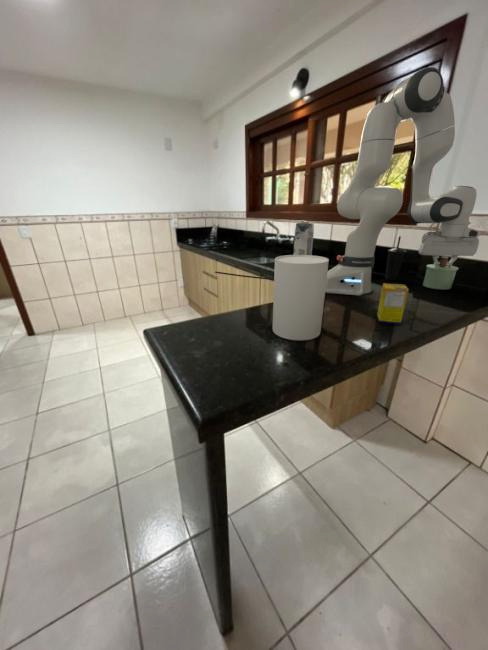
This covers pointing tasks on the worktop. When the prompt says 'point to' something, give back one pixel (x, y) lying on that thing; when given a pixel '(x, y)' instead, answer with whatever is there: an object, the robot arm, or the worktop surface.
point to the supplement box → (392, 303)
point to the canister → (299, 296)
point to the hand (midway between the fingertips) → (442, 266)
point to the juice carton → (303, 238)
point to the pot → (439, 279)
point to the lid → (442, 265)
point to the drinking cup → (394, 262)
